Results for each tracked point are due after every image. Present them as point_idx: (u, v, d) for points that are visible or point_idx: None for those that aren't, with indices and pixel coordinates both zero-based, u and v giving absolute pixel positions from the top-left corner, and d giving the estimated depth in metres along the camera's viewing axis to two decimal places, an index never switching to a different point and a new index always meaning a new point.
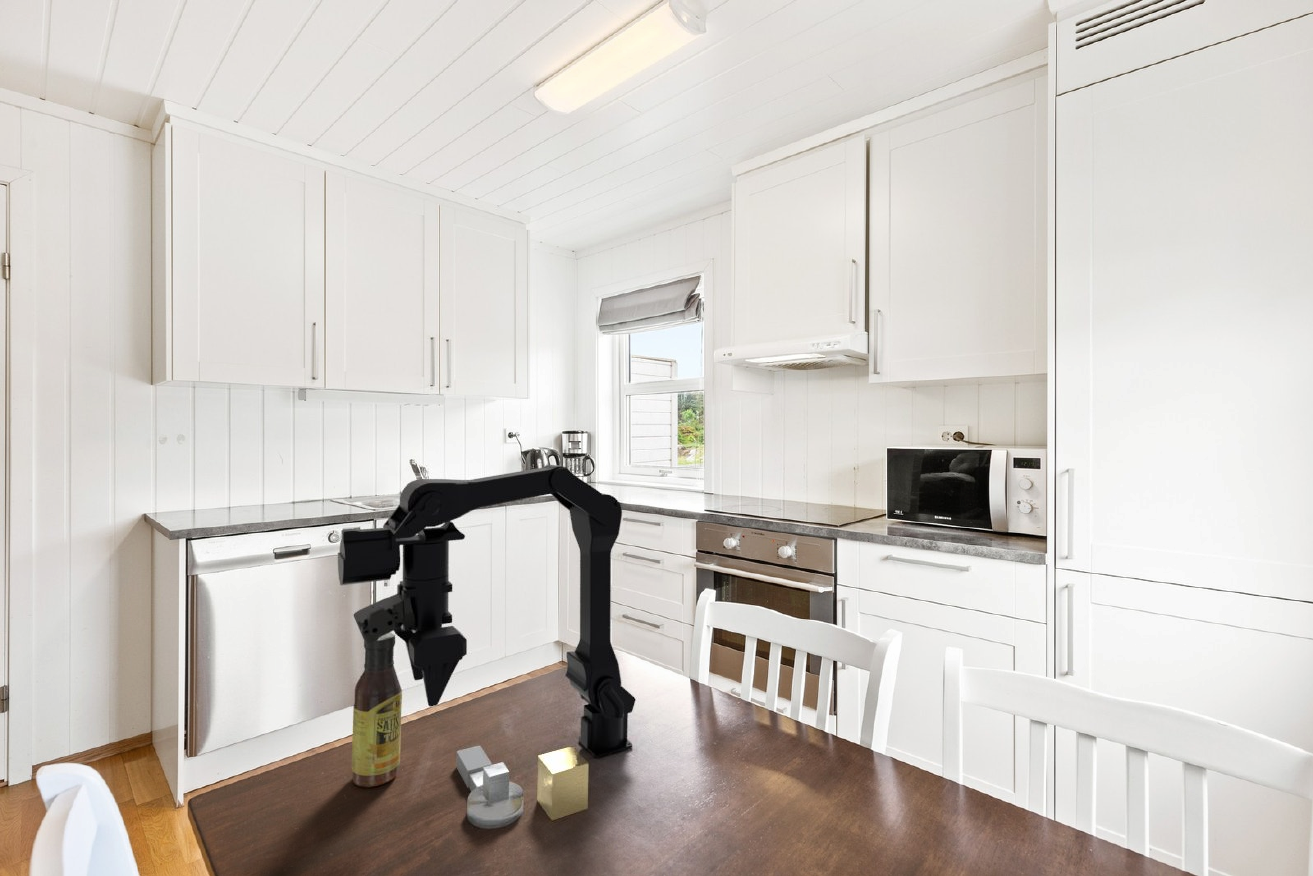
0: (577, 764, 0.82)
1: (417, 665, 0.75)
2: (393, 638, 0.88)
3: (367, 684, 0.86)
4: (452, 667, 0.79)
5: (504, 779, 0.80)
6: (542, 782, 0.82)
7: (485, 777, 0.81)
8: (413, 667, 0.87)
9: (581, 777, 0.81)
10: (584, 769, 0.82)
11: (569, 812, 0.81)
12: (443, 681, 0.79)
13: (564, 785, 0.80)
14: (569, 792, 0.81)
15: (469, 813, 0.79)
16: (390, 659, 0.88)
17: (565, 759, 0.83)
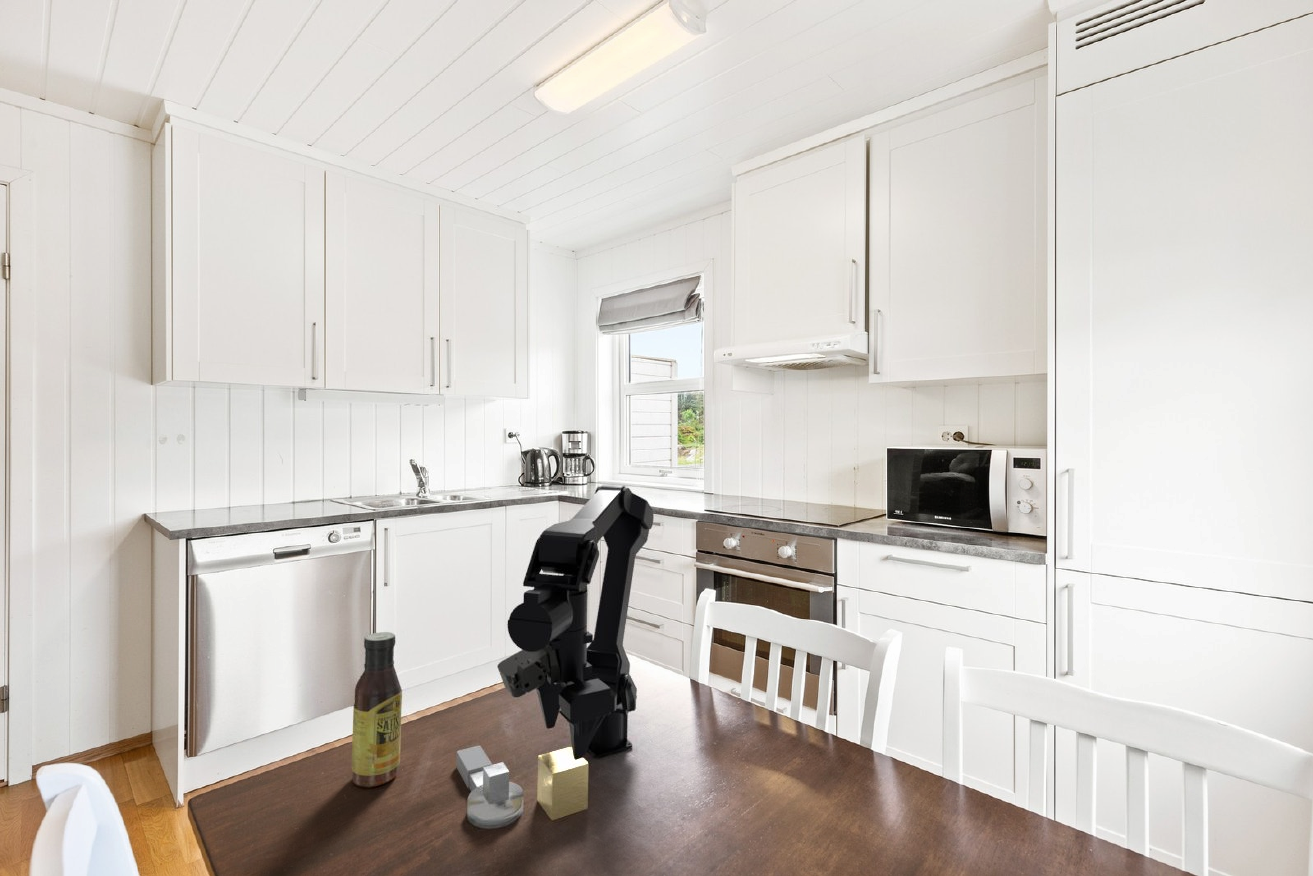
0: (577, 764, 0.82)
1: (571, 721, 0.75)
2: (393, 638, 0.88)
3: (367, 684, 0.86)
4: (599, 720, 0.78)
5: (504, 779, 0.80)
6: (542, 782, 0.82)
7: (485, 777, 0.81)
8: (546, 715, 0.86)
9: (581, 777, 0.81)
10: (584, 769, 0.82)
11: (569, 812, 0.81)
12: (589, 734, 0.78)
13: (564, 785, 0.80)
14: (569, 792, 0.81)
15: (469, 813, 0.79)
16: (391, 660, 0.88)
17: (565, 759, 0.83)
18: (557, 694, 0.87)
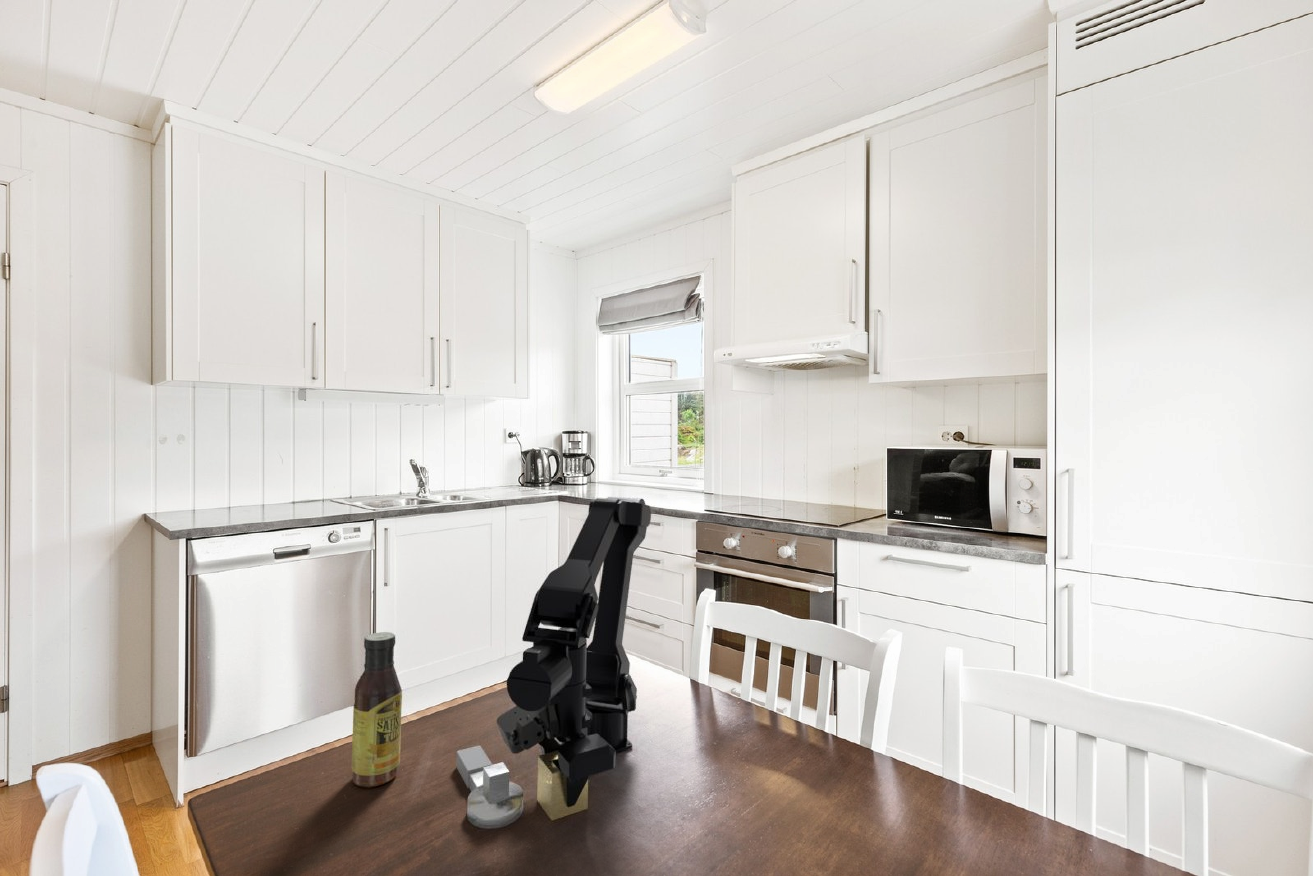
0: None
1: None
2: (393, 638, 0.88)
3: (367, 684, 0.86)
4: None
5: (504, 779, 0.80)
6: (542, 782, 0.82)
7: (485, 777, 0.81)
8: None
9: None
10: None
11: (569, 812, 0.81)
12: (581, 782, 0.80)
13: None
14: None
15: (469, 813, 0.79)
16: (391, 660, 0.88)
17: None
18: None
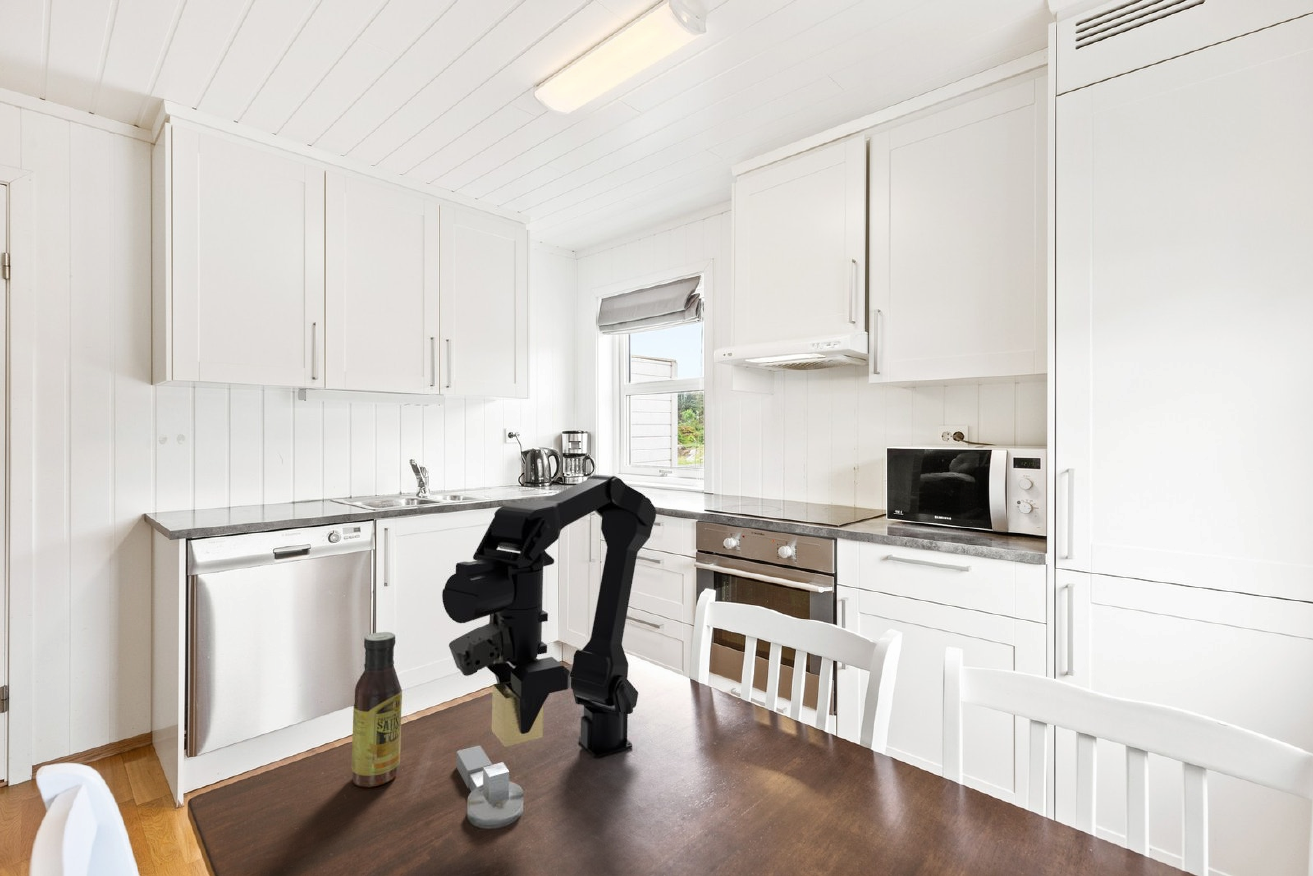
0: None
1: (516, 693, 0.75)
2: (393, 638, 0.89)
3: (367, 684, 0.86)
4: (546, 694, 0.78)
5: (504, 779, 0.80)
6: (496, 710, 0.80)
7: (485, 777, 0.81)
8: None
9: None
10: None
11: (523, 739, 0.79)
12: (536, 708, 0.78)
13: None
14: None
15: (469, 813, 0.79)
16: (391, 659, 0.88)
17: None
18: None
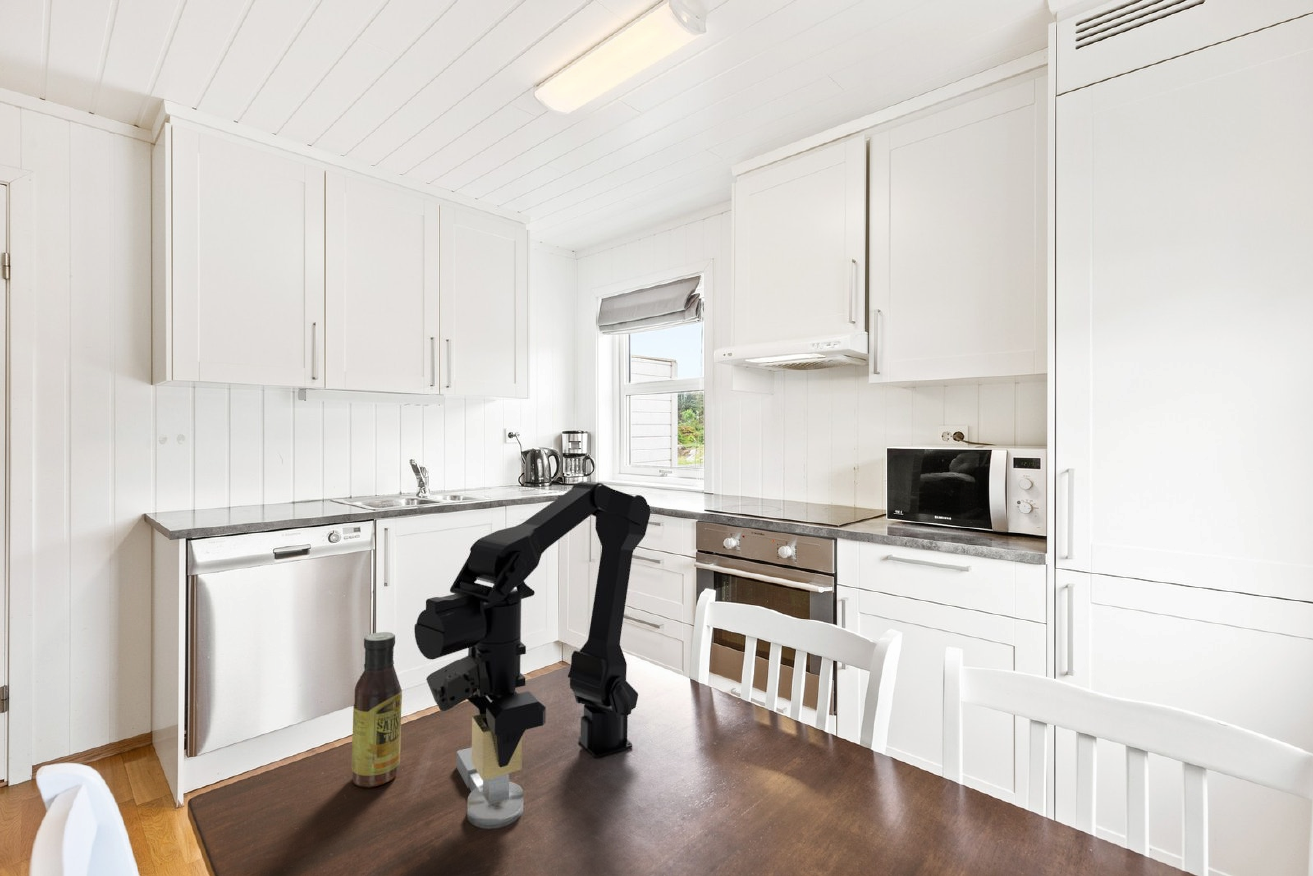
0: None
1: None
2: (393, 638, 0.88)
3: (367, 684, 0.86)
4: None
5: (504, 779, 0.80)
6: (475, 742, 0.81)
7: None
8: None
9: None
10: None
11: (501, 772, 0.79)
12: (514, 741, 0.78)
13: None
14: None
15: (469, 813, 0.79)
16: (390, 659, 0.88)
17: None
18: None
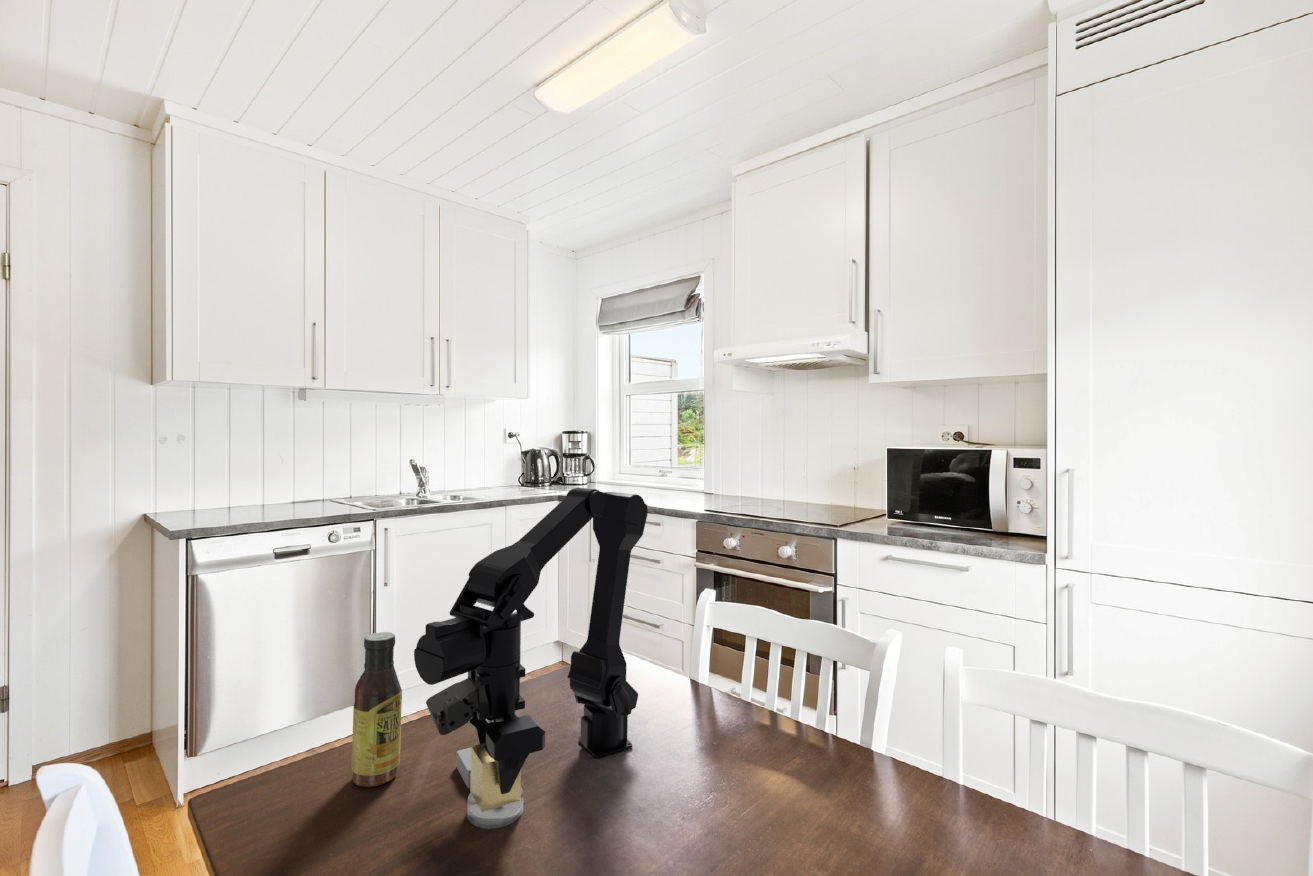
0: None
1: None
2: (393, 638, 0.88)
3: (367, 684, 0.86)
4: (525, 754, 0.78)
5: None
6: (474, 773, 0.81)
7: None
8: None
9: None
10: None
11: (501, 803, 0.79)
12: (516, 768, 0.78)
13: (495, 776, 0.79)
14: None
15: (469, 813, 0.79)
16: (391, 660, 0.88)
17: None
18: None
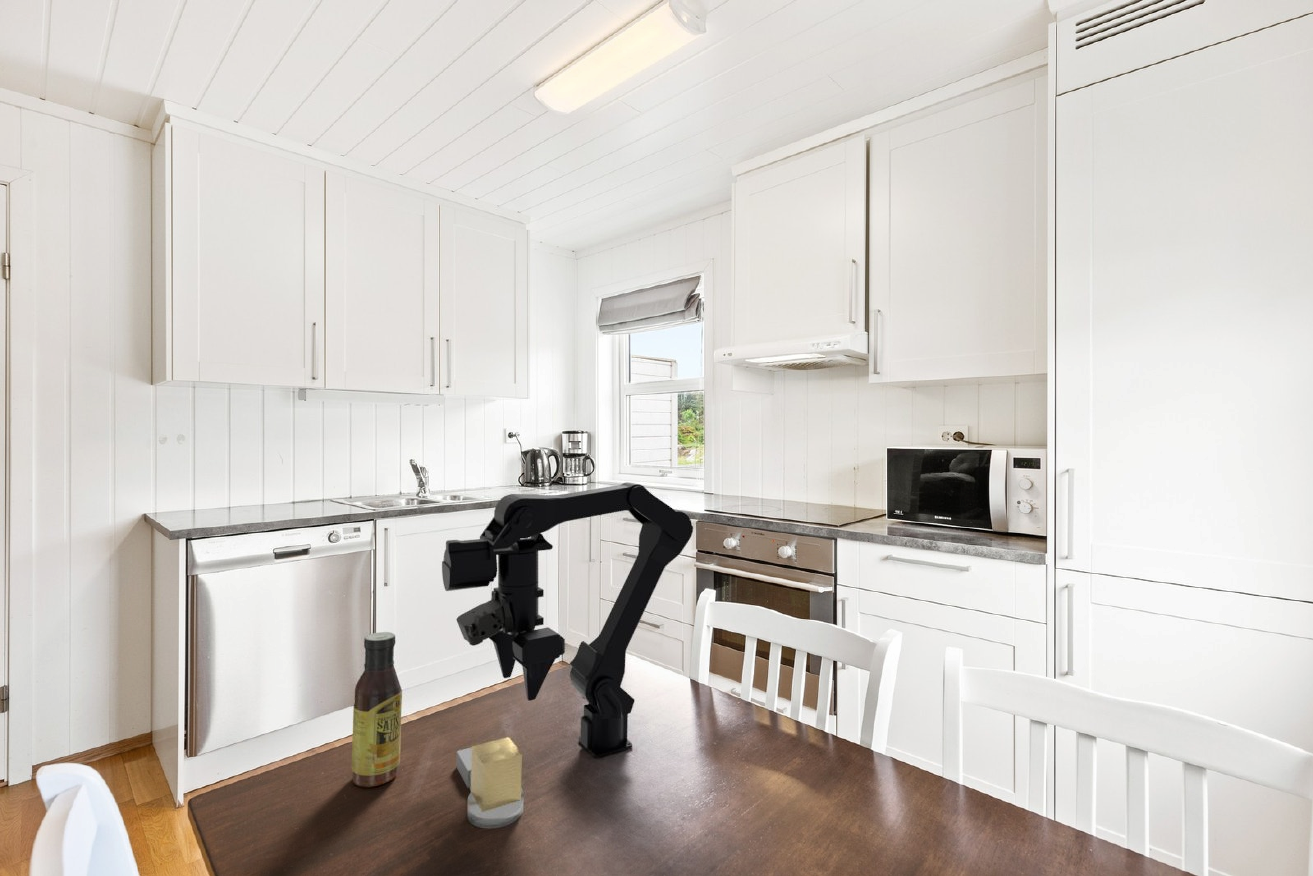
0: (510, 754, 0.80)
1: (523, 663, 0.83)
2: (393, 638, 0.89)
3: (367, 684, 0.86)
4: (549, 664, 0.87)
5: None
6: (474, 773, 0.81)
7: None
8: (502, 666, 0.95)
9: (514, 768, 0.80)
10: (517, 760, 0.80)
11: (501, 803, 0.79)
12: (541, 677, 0.87)
13: (495, 776, 0.79)
14: (501, 783, 0.79)
15: (469, 813, 0.79)
16: (391, 659, 0.88)
17: (499, 750, 0.81)
18: (513, 647, 0.96)
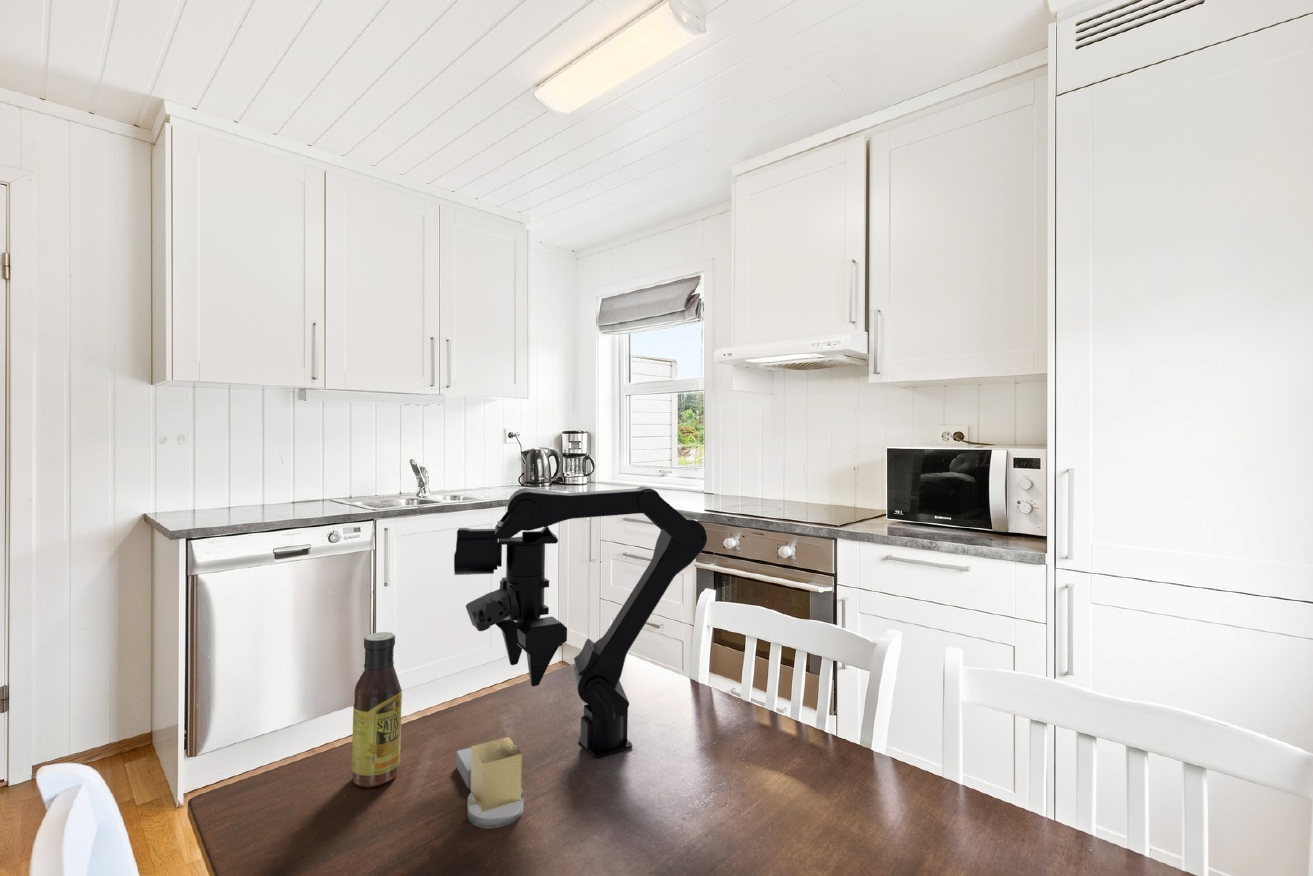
0: (510, 754, 0.80)
1: (527, 649, 0.87)
2: (393, 638, 0.88)
3: (367, 684, 0.86)
4: (552, 652, 0.91)
5: None
6: (474, 773, 0.81)
7: None
8: (510, 653, 0.99)
9: (514, 768, 0.80)
10: (517, 759, 0.80)
11: (501, 803, 0.79)
12: (544, 664, 0.91)
13: (495, 776, 0.79)
14: (501, 783, 0.79)
15: (469, 813, 0.79)
16: (390, 659, 0.88)
17: (499, 749, 0.81)
18: None
